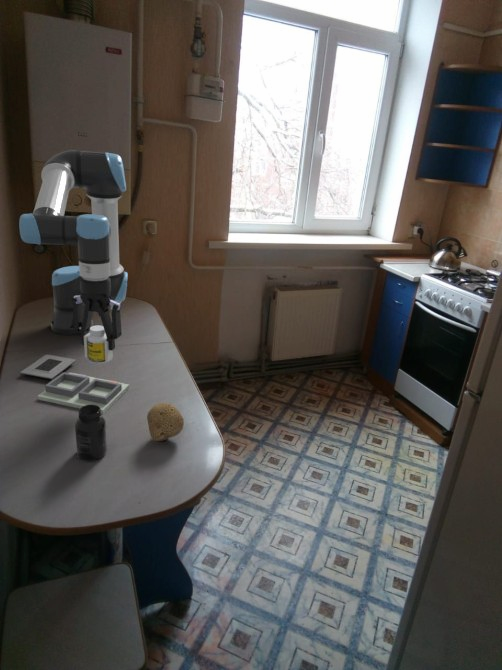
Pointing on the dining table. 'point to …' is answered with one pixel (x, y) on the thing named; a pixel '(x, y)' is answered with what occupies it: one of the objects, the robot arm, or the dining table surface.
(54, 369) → the electrical outlet
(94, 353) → the supplement bottle
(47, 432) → the dining table surface
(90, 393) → the tag board
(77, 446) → the supplement bottle
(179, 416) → the natural sponge
